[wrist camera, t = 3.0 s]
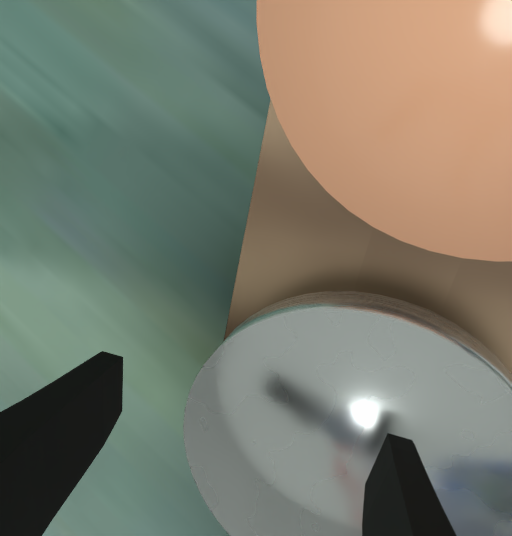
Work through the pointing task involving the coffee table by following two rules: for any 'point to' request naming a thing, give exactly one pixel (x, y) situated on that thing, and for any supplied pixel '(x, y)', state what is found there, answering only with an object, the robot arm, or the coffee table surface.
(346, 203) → the peach dome disc
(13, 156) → the coffee table surface
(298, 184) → the block
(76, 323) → the coffee table surface
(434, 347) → the chrome metal disc
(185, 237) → the coffee table surface
